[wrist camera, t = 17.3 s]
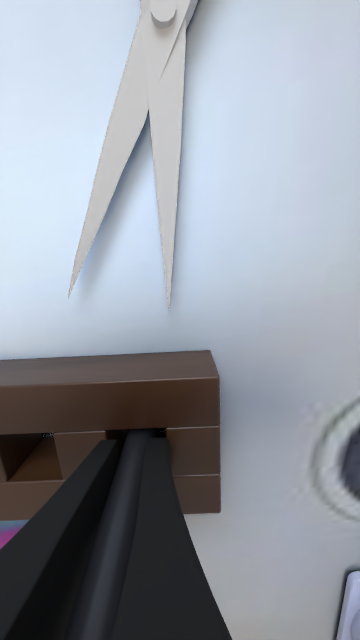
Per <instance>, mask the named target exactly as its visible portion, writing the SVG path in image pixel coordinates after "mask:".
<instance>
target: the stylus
mask: <svg viewBox="0 0 360 640" xmlns="http://www.w3.org/2000/svg"><path fill="white" fill-rule="evenodd" d="M156 434H157V428H146V429H129V430H128V433H127V436H126V439H125V442H124V446H123V449H122V452H121V455H120V459H119V462H118V465H117V468H116V472H115V475H114V478H113V481H112V484H111V488H110V491H109V494H108V497H107V501H106V504H105V507H104V510H103V514H102V517H101V520H100V523H99V526H98V530H97V533H96V536H95V539H94V543H93V546H92V549H91V552H90V556H89V559H88V562H87V565H86V568H85V572H84V575H83V578H82V581H81V585H80V588H79V591H78V594H77V598H76V601H75V604H74V607H73V610H72V614H71V617H70V620H69V623H68V627H67V630H66V633H65V636H64V640H111V637H112V633H113V629H114V624H115V620H116V616H117V612H118V607H119V603H120V599H121V594H122V590H123V586H124V581H125V577H126V572H127V567H128V563H129V558H130V553H131V549H132V544H133V539H134V534H135V528H136V521H137V514H138V505H139V496H140V487H141V477H142V469H143V460H144V454H145V450H146V446H147V443H148V440H149V438H156Z"/></svg>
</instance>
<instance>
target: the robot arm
mask: <svg viewBox="0 0 360 640" xmlns="http://www.w3.org/2000/svg"><path fill="white" fill-rule="evenodd" d="M119 459H120V456H119V449H118V442H117V440H101V441H100V442H99V443H98V444H97V445H96V446H95V447H94V448H93V449H92V451H91V452H90V453H89V454H88V455H87V457H86V458H85V459H84V460H83V461H82V462H81V464H80V465H79V466H78V467H77V468H76V469H75V471H74V472H73V473H72V474H71V475H70V476H69V477H68V479H67V480H66V481H65V482H64V483H63V484H62V485H61V486H60V488H59V489H58V490H57V491H56V492H55V493H54V494H53V495H52V497H51V498H50V499H49V500H48V501H47V502H46V503H45V504H44V505H43V506H42V507H41V508H40V509H39V510H38V511H37V512H36V514H35V515H34V516H33V517H32V518H31V519H30V520H29V521H28V522H27V523H26V524H25V525H24V526H23V527H22V528H21V529H20V530H19V531H18V532H17V533H16V534H15V535H14V536H13V537H12V538H11V539H10V540H9V541H8V542H7V543H6V544H5V545H4V546H3V547H2V548H1V549H0V640H64V636H65V633H66V630H67V627H68V623H69V620H70V617H71V614H72V610H73V607H74V604H75V601H76V598H77V594H78V591H79V588H80V585H81V581H82V578H83V575H84V572H85V568H86V565H87V562H88V559H89V556H90V552H91V549H92V546H93V543H94V539H95V536H96V533H97V530H98V526H99V523H100V520H101V517H102V514H103V510H104V507H105V504H106V501H107V497H108V494H109V491H110V488H111V484H112V481H113V478H114V475H115V472H116V468H117V465H118V462H119ZM111 640H232V638H231V636H230V633H229V631H228V629H227V627H226V624H225V622H224V620H223V617H222V615H221V613H220V611H219V608H218V606H217V604H216V602H215V599H214V597H213V594H212V592H211V589H210V587H209V584H208V582H207V579H206V577H205V574H204V572H203V569H202V567H201V564H200V561H199V559H198V556H197V553H196V551H195V548H194V545H193V542H192V540H191V537H190V534H189V531H188V528H187V525H186V522H185V519H184V515H183V512H182V509H181V506H180V502H179V499H178V495H177V491H176V487H175V483H174V479H173V475H172V470H171V459H170V445H169V440H168V439H167V438H149V440H148V443H147V446H146V450H145V454H144V460H143V469H142V477H141V487H140V496H139V505H138V514H137V521H136V528H135V534H134V539H133V544H132V549H131V553H130V558H129V563H128V567H127V572H126V577H125V581H124V586H123V590H122V594H121V599H120V603H119V607H118V612H117V616H116V620H115V624H114V629H113V633H112V637H111ZM336 640H360V571H354V572H352V573H350V574H349V575H348V578H347V583H346V589H345V594H344V600H343V606H342V611H341V617H340V622H339V628H338V633H337V639H336Z"/></svg>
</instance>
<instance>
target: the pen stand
mask: <svg viewBox="0 0 360 640" xmlns="http://www.w3.org/2000/svg"><path fill="white" fill-rule="evenodd" d="M219 424H220V387H219V375H218V372H217V369H216V366H215V363H214V360H213V357H212V354H211V351H210V350H205V351H184V352H163V353H142V354H122V355H101V356H80V357H59V358H38V359H17V360H0V521H15V520H30V519H31V518H32V517H33V516H34V515H35V514H36V512H37V511H38V510H39V509H40V508H41V507H42V506H43V505H44V504H45V503H46V502H47V501H48V500H49V499H50V498H51V497H52V495H53V494H54V493H55V492H56V491H57V490H58V489H59V488H60V486H61V485H62V484H63V483H64V482H65V481H66V480H67V479H68V477H69V476H70V475H71V474H72V473H73V472H74V471H75V469H76V468H77V467H78V466H79V465H80V464H81V462H82V461H83V460H84V459H85V458H86V457H87V455H88V454H89V453H90V452H91V451H92V449H93V448H94V447H95V446H96V445H97V444H98V443H99V442H100V441H101V440H117V442H118V449H119V456H120V455H121V452H122V449H123V446H124V442H125V439H126V436H127V430H126V429H146V428H166V432H162V433H157V434H156V438H167V439H168V440H169V445H170V459H171V470H172V475H173V479H174V483H175V487H176V491H177V495H178V499H179V502H180V506H181V509H182V512H183V514H204V513H220V512H221V477H220V472H221V471H220V425H219ZM53 432H54V434H53V436H54V437H45V438H42V433H53Z"/></svg>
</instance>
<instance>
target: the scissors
mask: <svg viewBox="0 0 360 640" xmlns="http://www.w3.org/2000/svg"><path fill="white" fill-rule="evenodd" d="M197 1H198V0H140V5H141V14H140V18H139V21H138V24H137V28H136V31H135V35H134V38H133V41H132V45H131V48H130V52H129V55H128V58H127V62H126V65H125V69H124V72H123V76H122V79H121V82H120V86H119V89H118V93H117V96H116V99H115V103H114V106H113V110H112V113H111V116H110V120H109V124H108V128H107V132H106V135H105V139H104V143H103V147H102V151H101V155H100V159H99V163H98V167H97V171H96V175H95V180H94V184H93V188H92V193H91V197H90V201H89V206H88V210H87V213H86V217H85V221H84V225H83V229H82V233H81V237H80V241H79V245H78V249H77V252H76V256H75V262H74V267H73V273H72V278H71V284H70V289H69V295H70V293H71V290H72V288H73V286H74V284H75V281H76V279H77V277H78V274H79V272H80V270H81V268H82V265H83V263H84V261H85V259H86V256H87V254H88V252H89V249H90V247H91V245H92V243H93V240H94V238H95V236H96V234H97V231H98V229H99V227H100V224H101V222H102V220H103V218H104V215H105V213H106V211H107V208H108V206H109V203H110V201H111V198H112V196H113V193H114V191H115V188H116V186H117V183H118V181H119V178H120V176H121V173H122V171H123V169H124V167H125V164H126V162H127V160H128V158H129V156H130V154H131V152H132V149H133V147H134V145H135V143H136V141H137V139H138V136H139V134H140V132H141V130H142V128H143V126H144V123H145V120H146V116H147V113H148V109H149V115H150V127H151V138H152V150H153V161H154V173H155V184H156V194H157V204H158V213H159V223H160V232H161V242H162V251H163V261H164V270H165V280H166V289H167V299H168V308H169V307H170V293H171V279H172V265H173V251H174V237H175V223H176V209H177V195H178V181H179V166H180V152H181V133H182V112H183V90H184V68H185V46H186V28H187V26H188V24H189V22H190V20H191V18H192V16H193V13H194V10H195V7H196V4H197ZM69 295H68V297H69Z"/></svg>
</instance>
